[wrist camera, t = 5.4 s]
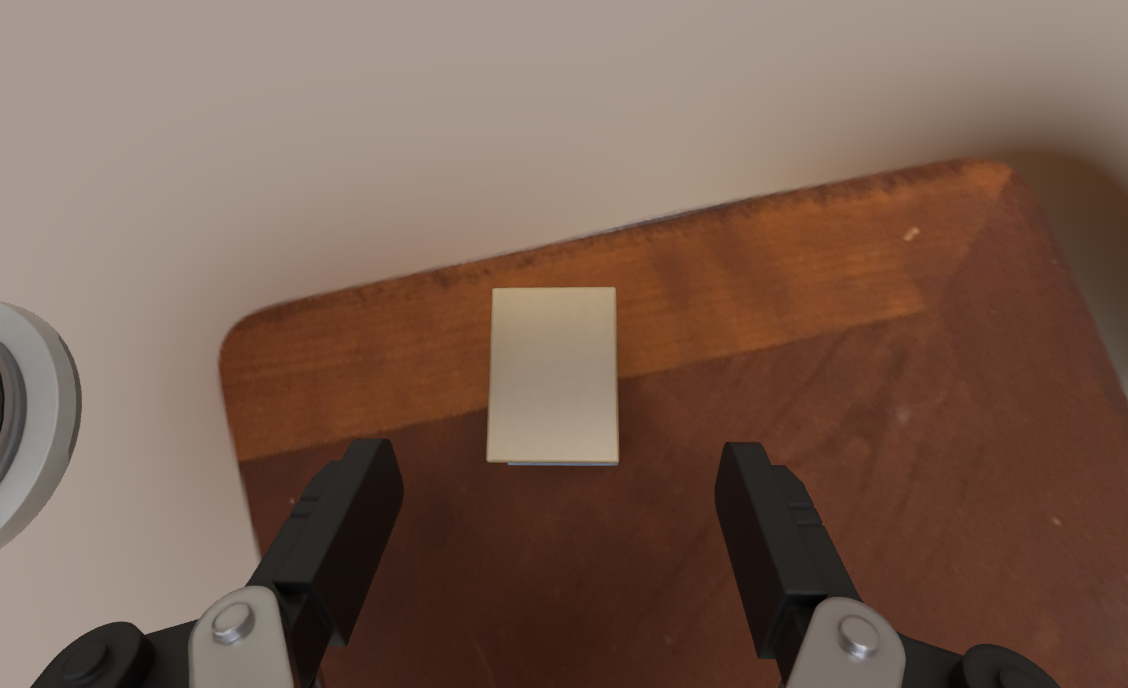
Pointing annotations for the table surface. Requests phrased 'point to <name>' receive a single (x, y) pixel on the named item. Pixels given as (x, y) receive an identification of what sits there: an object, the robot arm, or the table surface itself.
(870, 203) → the table surface
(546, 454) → the eraser
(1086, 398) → the table surface
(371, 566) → the robot arm
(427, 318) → the table surface
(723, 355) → the table surface
